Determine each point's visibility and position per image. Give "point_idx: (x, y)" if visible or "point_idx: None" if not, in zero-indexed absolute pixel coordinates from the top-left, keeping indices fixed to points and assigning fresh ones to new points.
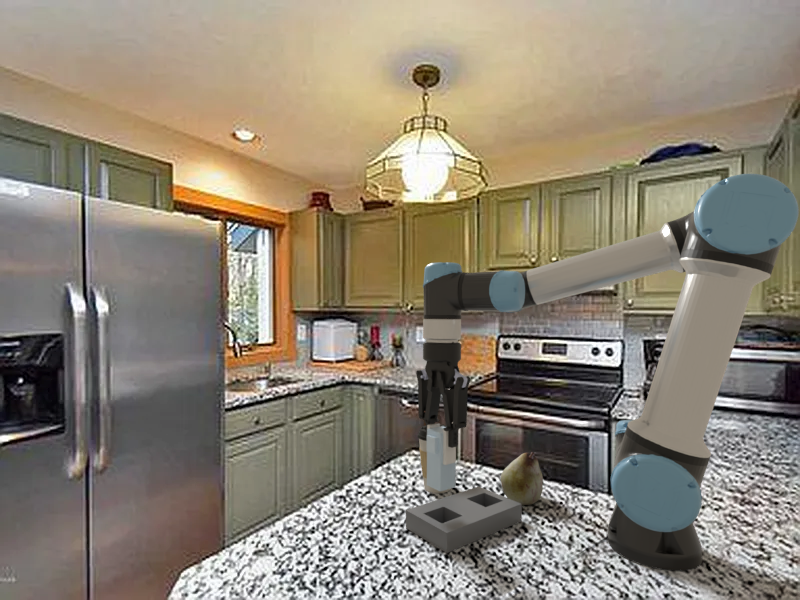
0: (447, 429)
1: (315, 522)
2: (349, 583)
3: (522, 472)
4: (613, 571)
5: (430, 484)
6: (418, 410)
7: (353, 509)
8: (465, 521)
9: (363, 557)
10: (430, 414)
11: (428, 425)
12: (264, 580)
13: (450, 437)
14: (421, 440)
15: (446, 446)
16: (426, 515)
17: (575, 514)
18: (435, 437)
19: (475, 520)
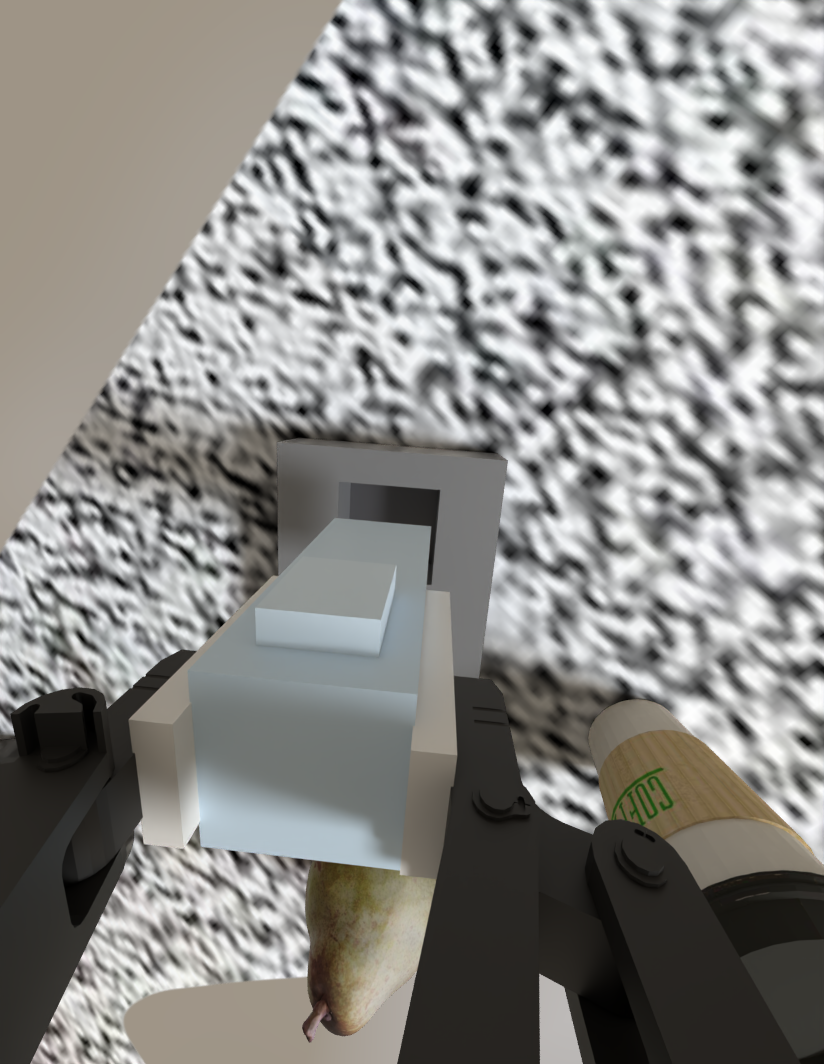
0: (29, 702)
1: (805, 222)
2: (366, 69)
3: (336, 913)
4: (27, 676)
5: (402, 526)
6: (740, 959)
7: (764, 416)
8: (299, 552)
9: (460, 215)
10: (431, 920)
11: (435, 751)
12: None
13: (146, 700)
14: (808, 872)
15: (216, 637)
16: (420, 487)
17: (247, 852)
18: (273, 632)
19: None
